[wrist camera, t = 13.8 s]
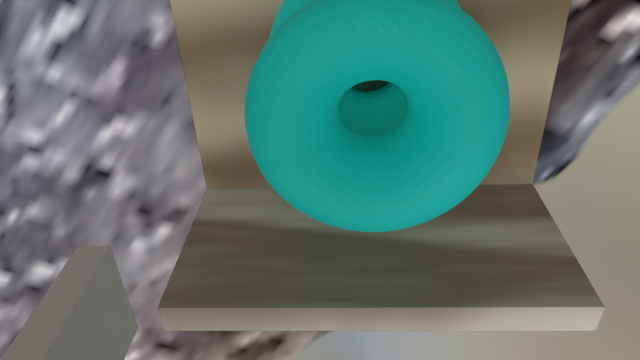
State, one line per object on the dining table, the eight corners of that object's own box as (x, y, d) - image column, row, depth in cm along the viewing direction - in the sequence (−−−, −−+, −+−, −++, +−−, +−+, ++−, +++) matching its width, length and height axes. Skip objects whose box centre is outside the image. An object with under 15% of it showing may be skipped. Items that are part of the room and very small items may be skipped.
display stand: (495, 143, 38) (596, 330, 23) (233, 149, 39) (164, 330, 24) (546, -182, 27) (798, -235, 12) (185, -161, 29) (6, -187, 13)
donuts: (365, -81, 14) (581, 123, 17) (357, -102, 23) (503, 38, 26) (186, 153, 19) (384, 283, 22) (235, 62, 27) (373, 165, 30)
